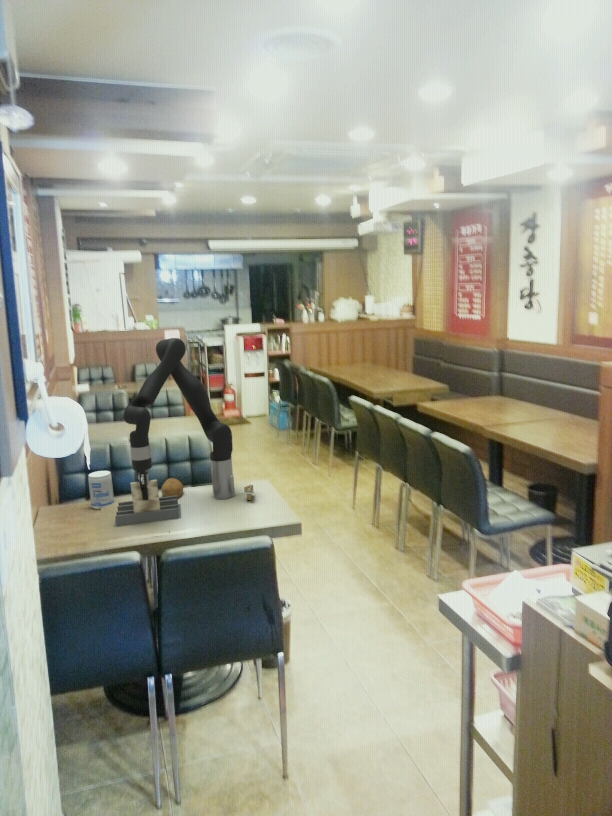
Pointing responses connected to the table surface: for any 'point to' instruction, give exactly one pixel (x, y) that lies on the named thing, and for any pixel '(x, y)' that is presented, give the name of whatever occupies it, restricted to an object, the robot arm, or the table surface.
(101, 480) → the supplement tub
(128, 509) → the rack
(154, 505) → the sheet
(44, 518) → the table surface
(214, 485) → the robot arm
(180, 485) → the potato
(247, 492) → the mottled beige figurine
